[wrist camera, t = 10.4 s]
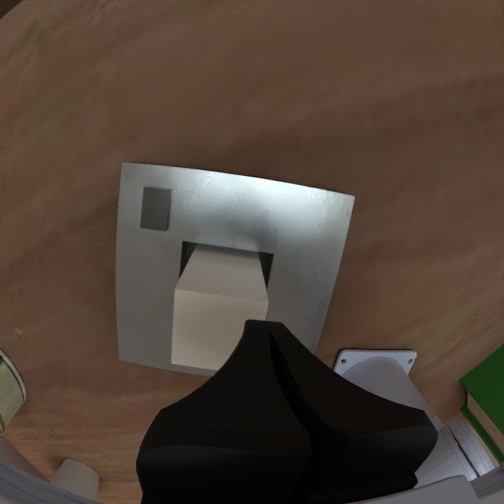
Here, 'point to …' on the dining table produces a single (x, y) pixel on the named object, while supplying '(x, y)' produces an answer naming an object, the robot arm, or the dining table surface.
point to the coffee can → (9, 391)
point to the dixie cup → (77, 479)
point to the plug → (215, 304)
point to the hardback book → (487, 402)
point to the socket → (226, 235)
